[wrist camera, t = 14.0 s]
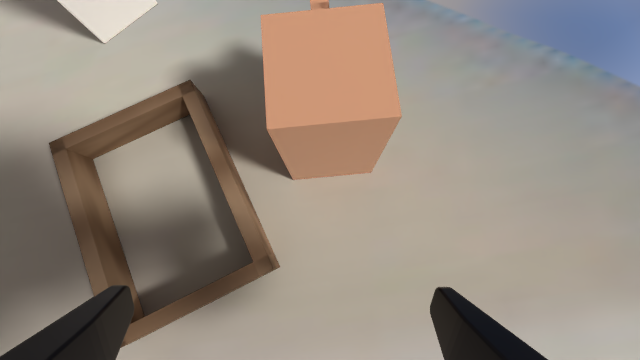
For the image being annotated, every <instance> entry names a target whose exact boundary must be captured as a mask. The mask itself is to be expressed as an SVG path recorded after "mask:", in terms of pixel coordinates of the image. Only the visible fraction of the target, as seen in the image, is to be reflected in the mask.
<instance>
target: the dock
mask: <svg viewBox="0 0 640 360" xmlns="http://www.w3.org/2000/svg"><path fill="white" fill-rule="evenodd" d="M188 115H191V117H192V120H193V122H194V124H195V127H196V129H197V131H198V134H199V136H200V138H201V141H202V143H203V145H204V148H205V150H206V153H207V155H208V157H209V160H210V162H211V164H212V167H213V169H214V171H215V174H216V176H217V178H218V181H219V183H220V185H221V188H222V190H223V192H224V195H225V197H226V199H227V202H228V204H229V206H230V209H231V211H232V213H233V216H234V218H235V220H236V223H237V225H238V227H239V230H240V232H241V234H242V237H243V239H244V241H245V244H246V246H247V248H248V251H249V253H250V255H251V258H252V260H253V262H252V263H250V264H248V265H246V266H244V267H242V268H240V269H239V270H237V271H235V272H233V273H231V274H229V275H227V276H225V277H223V278H221V279H219V280H217V281H215V282H213V283H211V284H209V285H207V286H205V287H203V288H201V289H199V290H197V291H195V292H193V293H191V294H189V295H187V296H185V297H183V298H181V299H179V300H177V301H175V302H173V303H171V304H169V305H167V306H165V307H163V308H161V309H159V310H157V311H155V312H153V313H151V314H149V315H147V316H144V313H143V310H142V307H141V304H140V301H139V298H138V295H137V292H136V289H135V286H134V283H133V280H132V277H131V274H130V271H129V268H128V265H127V262H126V259H125V256H124V253H123V250H122V247H121V243H120V240H119V237H118V234H117V231H116V228H115V225H114V222H113V219H112V216H111V213H110V210H109V207H108V204H107V201H106V198H105V195H104V192H103V189H102V186H101V183H100V180H99V177H98V174H97V171H96V168H95V165H94V161H93V159H94V158H96V157H98V156H100V155H103V154H105V153H107V152H109V151H111V150H114V149H116V148H118V147H120V146H122V145H124V144H127V143H129V142H131V141H133V140H135V139H138V138H140V137H142V136H144V135H146V134H149V133H151V132H153V131H155V130H157V129H159V128H162V127H164V126H166V125H168V124H170V123H173V122H175V121H177V120H179V119H181V118H183V117H186V116H188ZM49 145H50V149H51V152H52V155H53V159H54V162H55V165H56V169H57V172H58V176H59V179H60V182H61V186H62V189H63V192H64V196H65V199H66V203H67V206H68V209H69V213H70V216H71V219H72V223H73V226H74V230H75V233H76V236H77V240H78V243H79V246H80V250H81V253H82V257H83V260H84V263H85V267H86V270H87V273H88V277H89V280H90V284H91V287H92V290H93V294H94V296H96V295H97V294H99V293H100V292H102V291H104V290H105V289H107V288H108V287H110V286H112V285H127V286H129V287H130V290H131V294H132V299H133V303H134V314H133V317H132V320H131V322H130V325H129V327H128V330H127V332H126V335H125V337H124V340H123V342H122V345H121V347H123V346H125V345H128V344H130V343H132V342H134V341H136V340H138V339H140V338H142V337H144V336H146V335H148V334H150V333H152V332H154V331H156V330H158V329H160V328H162V327H164V326H166V325H167V324H169V323H171V322H173V321H175V320H177V319H179V318H181V317H183V316H185V315H187V314H189V313H191V312H193V311H195V310H197V309H199V308H201V307H203V306H205V305H207V304H209V303H211V302H213V301H215V300H217V299H218V298H220V297H222V296H224V295H226V294H228V293H230V292H232V291H234V290H236V289H238V288H240V287H242V286H244V285H246V284H248V283H250V282H252V281H254V280H256V279H258V278H260V277H262V276H264V275H266V274H267V273H269V272H271V271H273V270H275V269H277V268H279V267H280V266H279V263H278V261H277V259H276V257H275V254H274V252H273V250H272V248H271V246H270V243H269V241H268V239H267V237H266V234H265V232H264V230H263V228H262V225H261V223H260V221H259V219H258V216H257V214H256V212H255V210H254V207H253V205H252V203H251V201H250V199H249V196H248V194H247V192H246V190H245V187H244V185H243V183H242V181H241V178H240V176H239V174H238V172H237V169H236V167H235V165H234V163H233V160H232V158H231V156H230V154H229V151H228V149H227V147H226V145H225V143H224V140H223V138H222V136H221V134H220V131H219V129H218V127H217V125H216V122H215V120H214V118H213V116H212V113H211V111H210V109H209V107H208V104H207V102H206V100H205V98H204V96H203V95H202V93H201V92H200V91H199V90H198V89H197V87H196V86H195V85H194V84H193V83H192V81H191V80H188V81H186V82H184V83H182V84H179V85H177V86H175V87H173V88H171V89H168V90H166V91H164V92H162V93H159V94H157V95H155V96H153V97H150V98H148V99H146V100H144V101H142V102H139V103H137V104H135V105H133V106H130V107H128V108H126V109H124V110H122V111H119V112H117V113H115V114H113V115H110V116H108V117H106V118H104V119H101V120H99V121H97V122H95V123H93V124H90V125H88V126H86V127H84V128H81V129H79V130H77V131H75V132H72V133H70V134H68V135H66V136H64V137H61V138H59V139H57V140H55V141H52V142H50V143H49ZM121 347H120V348H121Z"/></svg>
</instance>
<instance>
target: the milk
mask: <svg viewBox="0 0 640 360" xmlns="http://www.w3.org/2000/svg"><path fill="white" fill-rule="evenodd" d="M57 1H58V2H59V3H60V4H61V5H62V6H63V7H64V8H65V9H67V10H68V11H69V12H70V13H71V14H72V15H73V16H74V17H75V18H76V19H78V20H79V21H80V22H81V23H82V24H83V25H84V26H85V27H86V28H87V29H89V30H90V31H91V32H92V33H93V34H94V35H95V36H96V37H97V38H98V39H100V40H101V41H102V42H103V43H106V42H108V41H109V40H110V39H112V38H113V37H114V36H116V35H117V34H118V33H120V32H121V31H122V30H124V29H125V28H126V27H128V26H129V25H130V24H132V23H133V22H134V21H136V20H137V19H138V18H140V17H141V16H142V15H144V14H145V13H146V12H148V11H149V10H150V9H151V8H153V7H154V6H155V5H157V1H156V0H57Z"/></svg>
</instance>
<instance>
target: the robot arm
mask: <svg viewBox="0 0 640 360" xmlns="http://www.w3.org/2000/svg"><path fill="white" fill-rule="evenodd" d="M133 314H134V303H133V299H132V294H131V290H130V287H129V286H127V285H112V286H110V287H108V288H107V289H105V290H104V291H102V292H100V293H99V294H97V295H96V296H94V297H93V298H91V299H89V300H88V301H86V302H85V303H83V304H82V305H80V306H79V307H77V308H75V309H74V310H72V311H71V312H69V313H68V314H66V315H64V316H63V317H61V318H60V319H58V320H57V321H55V322H54V323H52V324H50V325H49V326H47V327H46V328H44V329H43V330H41V331H39V332H38V333H36V334H35V335H33V336H32V337H30V338H28V339H27V340H25V341H24V342H22V343H21V344H19V345H18V346H16V347H14V348H13V349H11V350H10V351H8V352H7V353H5V354H3V355H2V356H0V360H116V357H117V355H118V352H119V350H120V347H121V345H122V342H123V340H124V337H125V335H126V332H127V330H128V327H129V325H130V322H131V320H132V317H133ZM430 314H431V318H432V321H433V324H434V327H435V331H436V334H437V337H438V341H439V344H440V347H441V351H442V354H443V357H444V360H548V359H546V358H545V357H544V356H542V355H541V354H540V353H538V352H537V351H536V350H534V349H533V348H532V347H530V346H529V345H527V344H526V343H525V342H523V341H522V340H521V339H519V338H518V337H517V336H515V335H514V334H513V333H511V332H510V331H509V330H507V329H506V328H505V327H503V326H502V325H501V324H499V323H498V322H497V321H495V320H494V319H492V318H491V317H490V316H488V315H487V314H486V313H484V312H483V311H482V310H480V309H479V308H478V307H476V306H475V305H474V304H472V303H471V302H470V301H468V300H467V299H466V298H464V297H463V296H461V295H460V294H459V293H457V292H456V291H455V290H453V289H452V288H450V287H438V288H436V290H435V292H434V296H433V299H432V302H431V305H430Z"/></svg>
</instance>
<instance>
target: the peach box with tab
mask: <svg viewBox="0 0 640 360" xmlns="http://www.w3.org/2000/svg"><path fill="white" fill-rule="evenodd" d="M310 5H311V10H307V11H297V12H287V13H277V14H267V15H261V29H262V48H263V67H264V86H265V105H266V124H267V131H268V133H269V135H270V136H271V138H272V140H273V142H274V144H275V146H276V148H277V150H278V152H279V154H280V156H281V157H282V159H283V161H284V163H285V165H286V167H287V169H288V171H289V173H290V175H291V177H292V178H293V180H298V179H309V178H319V177H330V176H341V175H351V174H362V173H371V172H372V170H373V168H374V166H375V164H376V163H377V161H378V159H379V157H380V155H381V153H382V152H383V150H384V148H385V146H386V144H387V142H388V141H389V139H390V137H391V135H392V133H393V131H394V130H395V128H396V126H397V124H398V122H399V120H400V119H401V117H402V115H401V109H400V103H399V97H398V91H397V85H396V79H395V73H394V66H393V60H392V54H391V48H390V42H389V36H388V30H387V24H386V18H385V11H384V5H383V3H377V4H367V5H357V6H347V7H337V8H329V1H328V0H310Z"/></svg>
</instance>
